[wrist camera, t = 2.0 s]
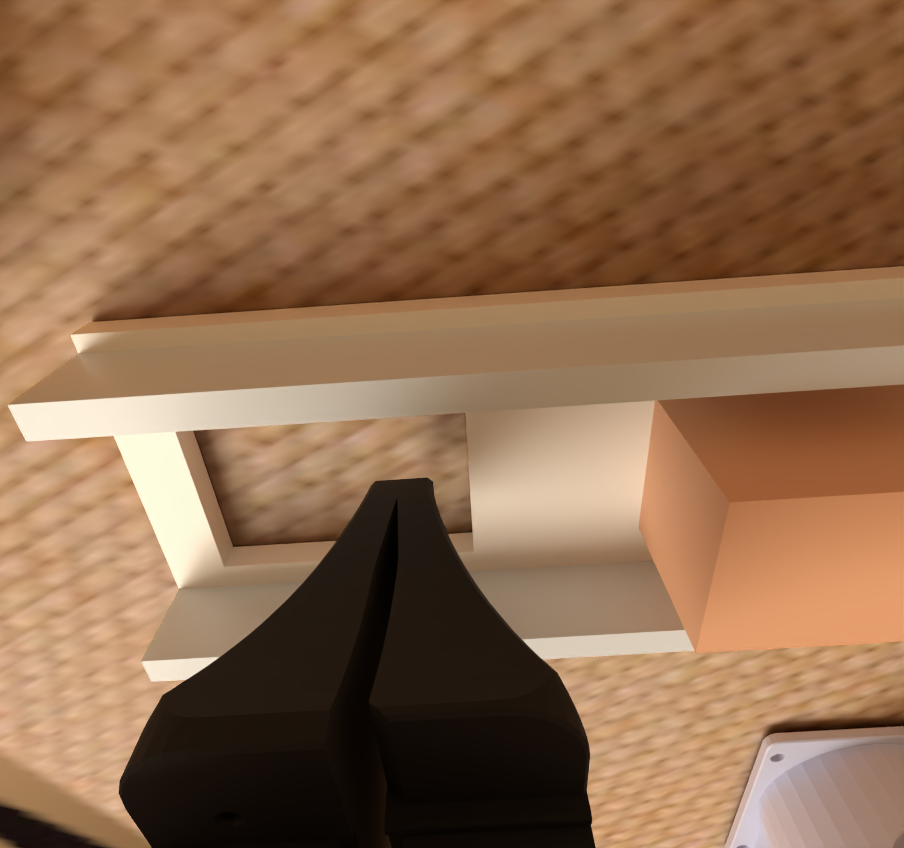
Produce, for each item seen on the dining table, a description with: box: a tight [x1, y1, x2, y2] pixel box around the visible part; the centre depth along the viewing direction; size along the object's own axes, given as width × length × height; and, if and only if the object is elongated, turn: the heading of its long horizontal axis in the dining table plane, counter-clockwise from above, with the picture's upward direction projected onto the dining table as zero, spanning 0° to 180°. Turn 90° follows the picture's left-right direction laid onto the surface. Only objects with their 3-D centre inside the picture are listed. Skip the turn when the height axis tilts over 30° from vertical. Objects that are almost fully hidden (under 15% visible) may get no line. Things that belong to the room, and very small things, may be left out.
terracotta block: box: [638, 384, 904, 653], centre depth 13 cm, size 4×6×4 cm, turn 94°
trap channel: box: [8, 266, 904, 682], centre depth 14 cm, size 9×25×3 cm, turn 94°
